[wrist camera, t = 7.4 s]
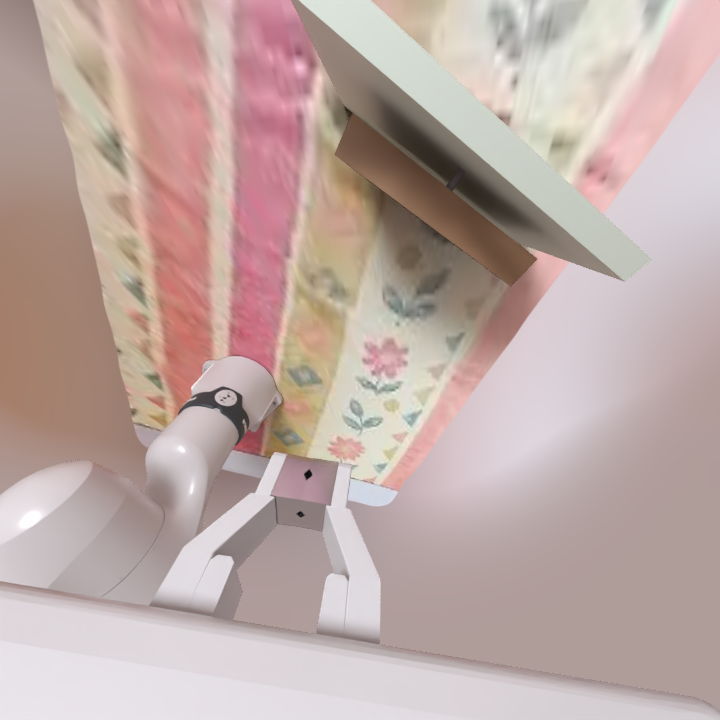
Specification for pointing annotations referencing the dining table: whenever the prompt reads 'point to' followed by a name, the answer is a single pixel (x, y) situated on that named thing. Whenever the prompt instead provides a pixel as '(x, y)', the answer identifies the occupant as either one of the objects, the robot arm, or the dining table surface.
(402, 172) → the wooden picture frame
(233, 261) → the dining table surface
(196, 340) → the dining table surface
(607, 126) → the dining table surface
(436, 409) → the dining table surface
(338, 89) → the wall panel
